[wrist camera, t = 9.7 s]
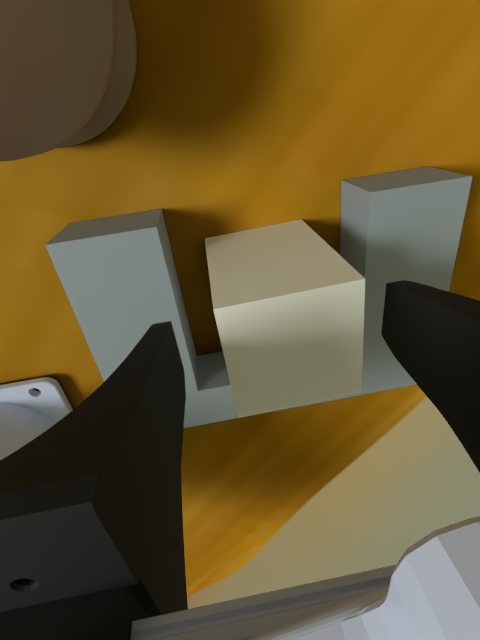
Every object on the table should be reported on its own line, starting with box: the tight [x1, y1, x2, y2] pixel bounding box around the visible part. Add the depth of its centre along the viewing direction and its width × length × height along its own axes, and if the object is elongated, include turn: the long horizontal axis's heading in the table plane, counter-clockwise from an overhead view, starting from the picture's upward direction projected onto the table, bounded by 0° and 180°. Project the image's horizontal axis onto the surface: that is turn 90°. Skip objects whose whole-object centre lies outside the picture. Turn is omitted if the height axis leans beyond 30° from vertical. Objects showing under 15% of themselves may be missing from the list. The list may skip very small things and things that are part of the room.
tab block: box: [205, 219, 365, 418], centre depth 13 cm, size 4×4×6 cm
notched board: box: [45, 166, 473, 428], centre depth 15 cm, size 14×9×2 cm, turn 97°
